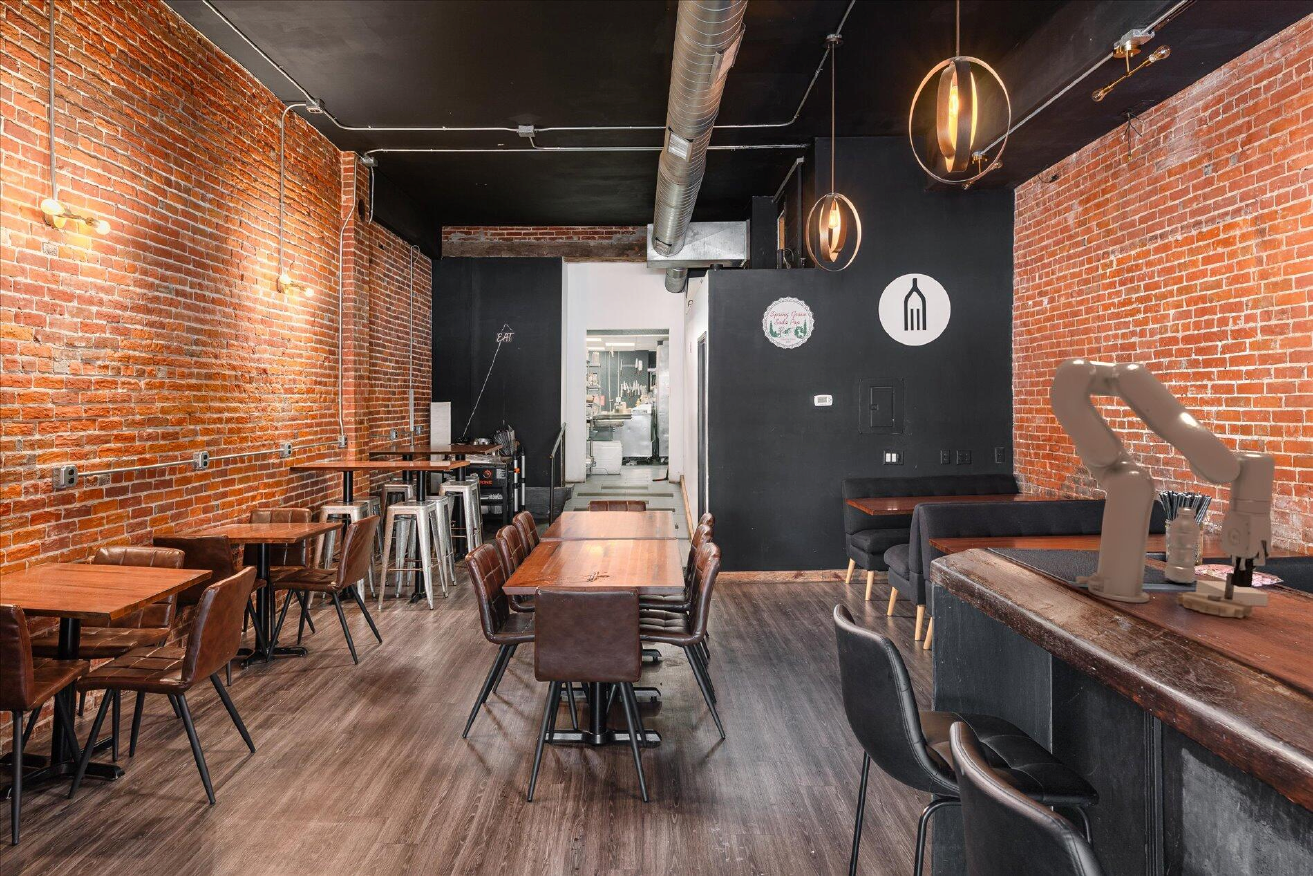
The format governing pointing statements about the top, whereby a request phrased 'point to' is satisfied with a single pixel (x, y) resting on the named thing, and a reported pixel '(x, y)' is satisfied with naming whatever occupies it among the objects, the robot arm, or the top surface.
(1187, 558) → the plastic bottle
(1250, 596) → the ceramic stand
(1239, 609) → the base with upright peg
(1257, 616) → the top surface
